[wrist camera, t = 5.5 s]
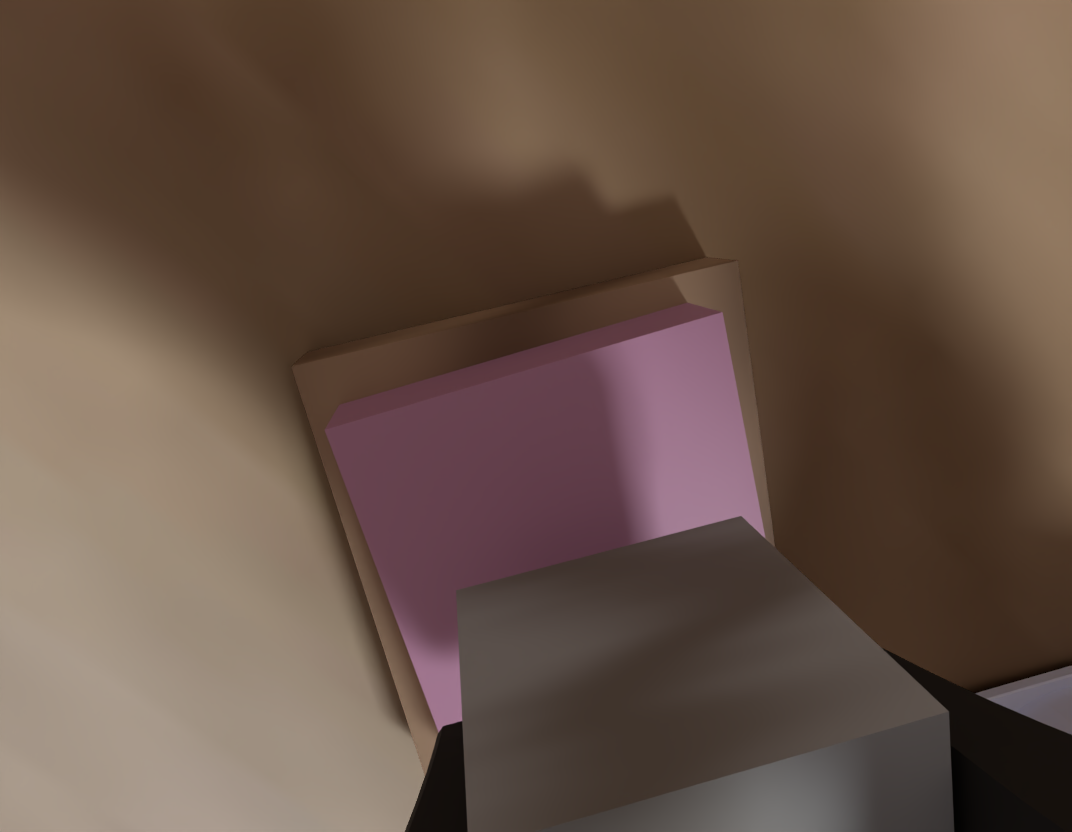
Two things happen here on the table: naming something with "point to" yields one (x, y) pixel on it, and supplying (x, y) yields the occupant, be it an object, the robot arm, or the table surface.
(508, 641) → the slate cube
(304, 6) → the table surface
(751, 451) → the walnut base block
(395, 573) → the plum top block
